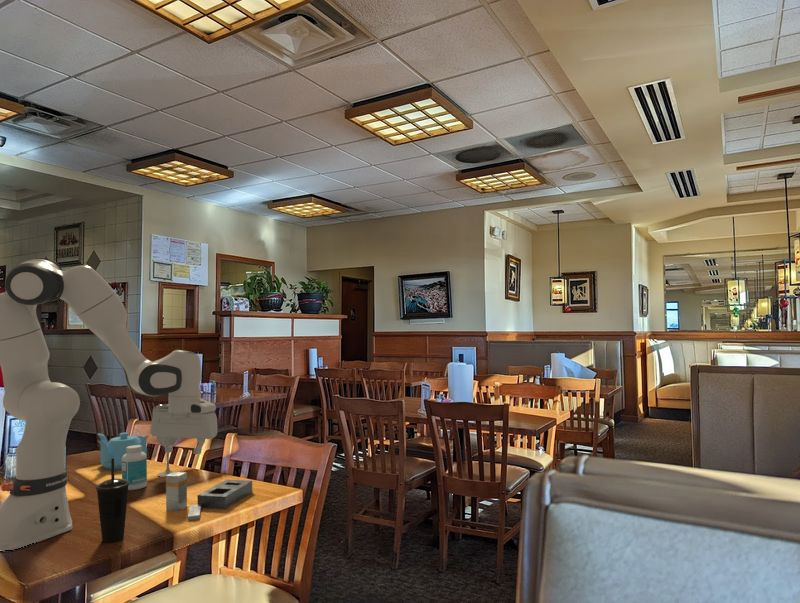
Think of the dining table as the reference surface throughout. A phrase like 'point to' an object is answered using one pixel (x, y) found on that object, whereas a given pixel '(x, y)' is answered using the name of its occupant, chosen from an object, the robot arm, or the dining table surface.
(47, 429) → the robot arm
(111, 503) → the drinking cup
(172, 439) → the wineglass
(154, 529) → the dining table surface
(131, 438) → the teapot
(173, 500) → the small grey carton
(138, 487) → the pill bottle
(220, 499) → the socket block
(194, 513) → the light grey bar
